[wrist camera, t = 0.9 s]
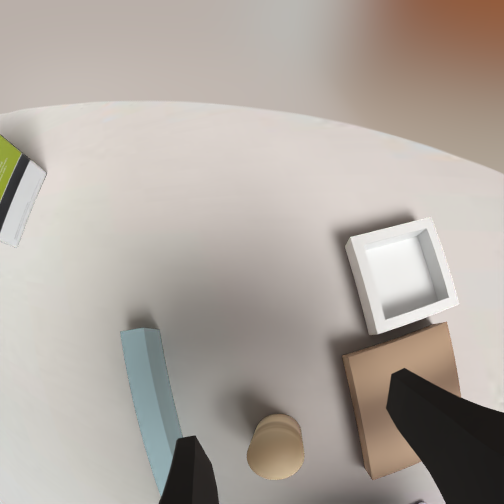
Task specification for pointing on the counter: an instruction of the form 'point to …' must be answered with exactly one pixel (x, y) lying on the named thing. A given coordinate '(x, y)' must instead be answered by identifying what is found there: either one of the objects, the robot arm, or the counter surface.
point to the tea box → (16, 191)
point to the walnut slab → (377, 388)
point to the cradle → (401, 274)
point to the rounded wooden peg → (276, 447)
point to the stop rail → (152, 398)
